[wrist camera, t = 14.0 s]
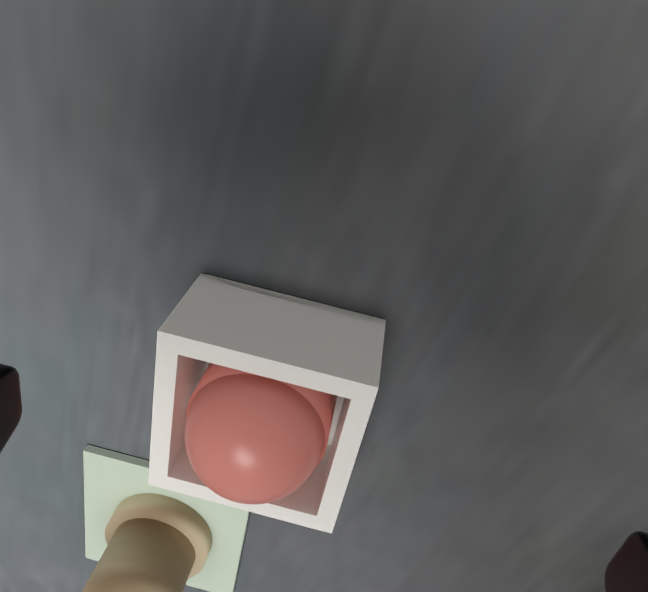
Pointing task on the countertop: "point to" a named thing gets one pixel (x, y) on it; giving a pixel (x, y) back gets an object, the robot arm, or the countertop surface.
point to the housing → (272, 362)
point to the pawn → (151, 546)
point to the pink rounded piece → (255, 434)
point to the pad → (132, 478)
